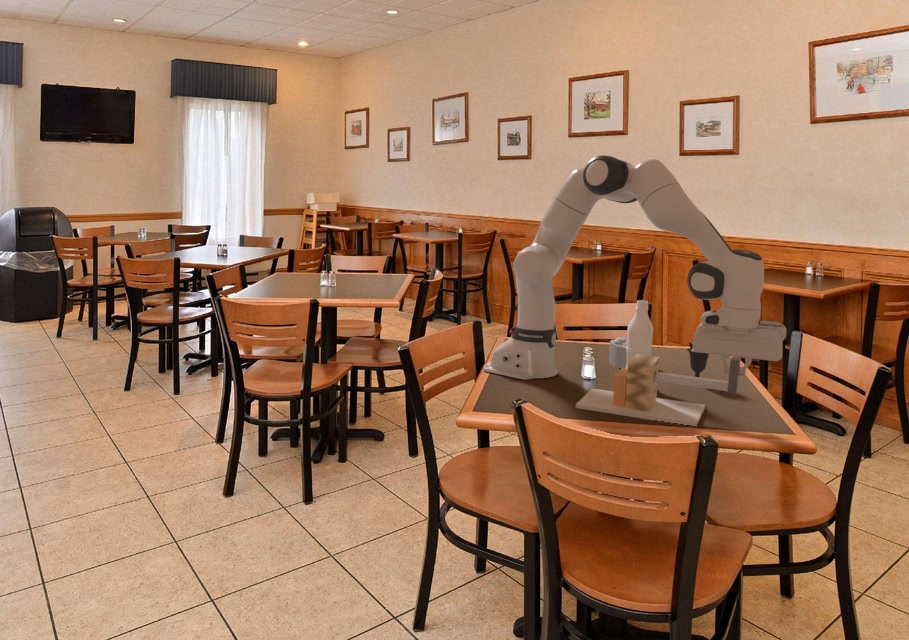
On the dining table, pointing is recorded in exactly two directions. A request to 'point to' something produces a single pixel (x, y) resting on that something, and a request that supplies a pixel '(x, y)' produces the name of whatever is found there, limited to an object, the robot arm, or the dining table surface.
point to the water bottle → (639, 332)
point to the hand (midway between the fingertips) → (734, 373)
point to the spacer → (620, 388)
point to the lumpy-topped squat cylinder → (618, 352)
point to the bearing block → (641, 382)
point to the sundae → (697, 360)
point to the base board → (659, 411)
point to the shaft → (705, 379)
